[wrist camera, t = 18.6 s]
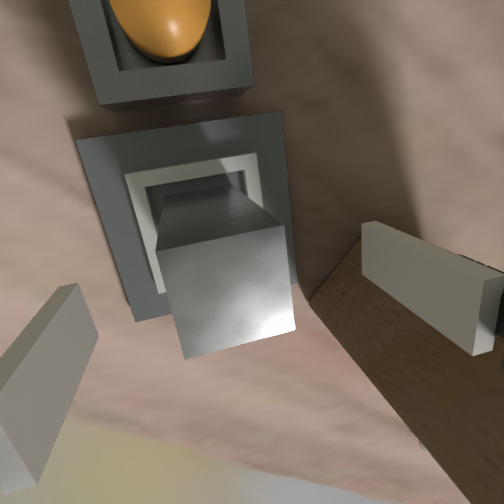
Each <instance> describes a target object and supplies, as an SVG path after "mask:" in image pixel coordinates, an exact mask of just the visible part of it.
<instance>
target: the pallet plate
mask: <svg viewBox="0 0 504 504" xmlns="http://www.w3.org/2000/svg"><path fill="white" fill-rule="evenodd" d="M75 141H76V144H77V147H78V150H79V153H80V156H81V159H82V162H83V165H84V168H85V171H86V174H87V177H88V180H89V183H90V186H91V189H92V192H93V195H94V198H95V201H96V204H97V207H98V211H99V214H100V217H101V220H102V223H103V226H104V229H105V232H106V235H107V238H108V241H109V244H110V247H111V250H112V253H113V256H114V259H115V262H116V265H117V268H118V271H119V274H120V277H121V280H122V283H123V286H124V289H125V292H126V295H127V298H128V301H129V304H130V307H131V310H132V313H133V316H134V319H135V322H139V321H143V320H147V319H151V318H155V317H159V316H163V315H168V314H172V311H171V307H170V304H169V300H168V296H167V293H166V289H165V286H164V282H163V278H162V275H161V271H160V267H159V264H158V260H157V257H156V253H155V250H156V243H157V237H158V231H159V225H160V218H161V212H162V206H163V199H164V196H169V195H175V194H180V193H186V192H191V191H197V190H202V189H208V188H214V187H219V186H225V185H230V184H232V185H233V186H234V187H236V188H237V189H238V190H240V191H241V192H242V193H244V194H245V195H246V196H247V197H249V198H250V199H251V200H253V201H254V202H255V203H256V204H258V205H259V206H260V207H262V208H263V209H264V210H266V211H267V212H268V213H269V214H271V215H272V216H273V217H275V218H276V219H277V220H279V221H280V222H281V223H282V224H284V228H285V238H286V247H287V257H288V266H289V276H290V285H291V284H295V283H298V279H297V268H296V258H295V247H294V236H293V226H292V215H291V204H290V194H289V183H288V172H287V162H286V151H285V141H284V130H283V119H282V111H276V112H269V113H262V114H255V115H248V116H241V117H234V118H227V119H220V120H213V121H206V122H199V123H192V124H185V125H178V126H171V127H164V128H157V129H150V130H143V131H136V132H129V133H122V134H115V135H108V136H101V137H94V138H87V139H80V140H75Z"/></svg>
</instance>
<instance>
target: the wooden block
mask: <svg viewBox="0 0 504 504" xmlns="http://www.w3.org/2000/svg"><path fill="white" fill-rule="evenodd" d="M309 305H310V307H311V308H312V310H313V311H314V312H315V313H316V315H317V316H318V317H319V318H320V319H321V321H322V322H323V323H324V324H325V326H326V327H327V328H328V329H329V330H330V332H331V333H332V334H333V335H334V337H335V338H336V339H337V340H338V341H339V343H340V344H341V345H342V346H343V348H344V349H345V350H346V351H347V353H348V354H349V355H350V356H351V357H352V359H353V360H354V361H355V362H356V364H357V365H358V366H359V367H360V368H361V370H362V371H363V372H364V373H365V375H366V376H367V377H368V378H369V379H370V381H371V382H372V383H373V384H374V386H375V387H376V388H377V389H378V390H379V392H380V393H381V394H382V395H383V397H384V398H385V399H386V400H387V401H388V403H389V404H390V405H391V406H392V408H393V409H394V410H395V411H396V412H397V414H398V415H399V416H400V417H401V419H402V420H403V421H404V422H405V424H406V425H407V426H408V427H409V428H410V430H411V431H412V432H413V433H414V435H415V436H416V437H417V438H418V439H419V441H420V442H421V443H422V444H423V446H424V447H425V448H426V449H427V450H428V452H429V453H430V454H431V455H432V457H433V458H434V459H435V460H436V461H437V463H438V464H439V465H440V466H441V468H442V469H443V470H444V471H445V472H446V474H447V475H448V476H449V477H450V479H451V480H452V481H453V482H454V483H455V485H456V486H457V487H458V488H459V490H460V491H461V492H462V493H463V495H464V496H465V497H466V498H467V499H468V501H469V502H470V503H471V504H504V371H503V370H501V365H502V360H503V355H504V339H503V338H501V337H500V336H498V335H496V334H495V340H494V346H493V350H492V351H489V352H485V353H482V354H478V355H475V356H471V355H470V354H469V353H467V352H466V351H465V350H463V349H462V348H461V347H459V346H458V345H457V344H455V343H454V342H453V341H451V340H450V339H449V338H447V337H446V336H444V335H443V334H442V333H440V332H439V331H438V330H436V329H435V328H434V327H432V326H431V325H430V324H428V323H427V322H426V321H424V320H423V319H422V318H420V317H419V316H417V315H416V314H415V313H413V312H412V311H411V310H409V309H408V308H407V307H405V306H404V305H403V304H401V303H400V302H399V301H397V300H396V299H395V298H393V297H392V296H391V295H389V294H388V293H386V292H385V291H384V290H382V289H381V288H380V287H378V286H377V285H376V284H374V283H373V282H372V281H370V280H369V279H368V278H366V277H365V276H364V275H362V238H361V237H360V239H359V240H358V241H357V242H356V244H355V245H354V246H353V247H352V248H351V250H350V251H349V252H348V253H347V255H346V256H345V257H344V258H343V259H342V261H341V262H340V263H339V264H338V266H337V267H336V268H335V269H334V270H333V272H332V273H331V274H330V275H329V277H328V278H327V279H326V280H325V281H324V283H323V284H322V285H321V286H320V288H319V289H318V290H317V291H316V292H315V294H314V295H313V296H312V297H311V299H310V300H309Z"/></svg>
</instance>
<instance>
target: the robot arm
mask: <svg viewBox="0 0 504 504" xmlns="http://www.w3.org/2000/svg"><path fill="white" fill-rule="evenodd" d="M361 238H362V275H364V276H365V277H366V278H368V279H369V280H370V281H372V282H373V283H374V284H376V285H377V286H378V287H380V288H381V289H382V290H384V291H385V292H386V293H388V294H389V295H391V296H392V297H393V298H395V299H396V300H397V301H399V302H400V303H401V304H403V305H404V306H405V307H407V308H408V309H409V310H411V311H412V312H413V313H415V314H416V315H417V316H419V317H420V318H422V319H423V320H424V321H426V322H427V323H428V324H430V325H431V326H432V327H434V328H435V329H436V330H438V331H439V332H440V333H442V334H443V335H444V336H446V337H447V338H449V339H450V340H451V341H453V342H454V343H455V344H457V345H458V346H459V347H461V348H462V349H463V350H465V351H466V352H467V353H469V354H470V355H471V356H475V355H478V354H482V353H485V352H489V351H492V350H493V346H494V340H495V334H496V335H498V336H500V337H501V338H503V339H504V272H502V271H499V270H497V269H495V268H492V267H490V266H485V264H482V263H480V262H478V261H476V262H475V260H473V259H470V258H468V257H465V256H463V255H459V254H455V253H452V252H450V251H448V250H445V249H443V248H440V247H438V246H436V245H433V244H431V243H428V242H426V241H424V240H421V239H419V238H416V237H414V236H411V235H409V234H407V233H404V232H402V231H399V230H397V229H395V228H392V227H390V226H387V225H385V224H383V223H380V222H378V221H372V222H367V223H362V224H361ZM98 337H99V335H98V333H97V330H96V327H95V325H94V322H93V320H92V317H91V315H90V312H89V309H88V307H87V304H86V302H85V299H84V297H83V294H82V291H81V289H80V286H79V284H78V283H75V284H70V285H65V286H60V287H58V289H57V290H56V291H55V292H54V293H53V295H52V296H51V297H50V298H49V300H48V301H47V302H46V303H45V304H44V306H43V307H42V308H41V309H40V310H39V312H38V313H37V314H36V315H35V316H34V318H33V319H32V320H31V321H30V323H29V324H28V325H27V326H26V327H25V329H24V330H23V331H22V332H21V333H20V335H19V336H18V337H17V338H16V339H15V341H14V342H13V343H12V344H11V346H10V347H9V348H8V349H7V350H6V352H5V353H4V354H3V355H2V356H1V358H0V488H1V489H2V491H3V492H4V494H8V493H12V492H15V491H19V490H22V489H26V488H29V487H32V486H35V485H37V484H38V482H39V479H40V477H41V474H42V472H43V470H44V467H45V465H46V462H47V460H48V458H49V455H50V453H51V450H52V448H53V446H54V443H55V441H56V438H57V436H58V433H59V431H60V429H61V426H62V424H63V422H64V419H65V417H66V414H67V412H68V409H69V407H70V405H71V402H72V400H73V397H74V395H75V393H76V390H77V388H78V385H79V383H80V381H81V378H82V376H83V373H84V371H85V369H86V366H87V364H88V361H89V359H90V356H91V354H92V352H93V349H94V347H95V344H96V342H97V340H98ZM501 370H503V371H504V355H503V360H502V365H501Z"/></svg>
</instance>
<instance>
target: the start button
mask: <svg viewBox="0 0 504 504" xmlns="http://www.w3.org/2000/svg"><path fill="white" fill-rule="evenodd" d="M109 1H110V4H111V6H112V9H113V11H114V13H115V15H116V17H117V20H118V22H119V24H120V26H121V28H122V30H123V32H124V34H125V36H126V37H127V39H128V40H129V42H130V43H131V44H132V45H133V46H134V48H135V49H137V50H138V51H139V52H140V53H141V54H143V55H144V56H146V57H148V58H149V59H152V60H154V61H157V62H161V63H175V62H179V61H182V60H184V59H186V58H187V57H189V56H190V55H191V54H192V53H193V52H194V51H195V50H196V49H197V47H198V46H199V44H200V42H201V40H202V37H203V34H204V31H205V27H206V24H207V21H208V17H209V13H210V6H211V0H109Z"/></svg>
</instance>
